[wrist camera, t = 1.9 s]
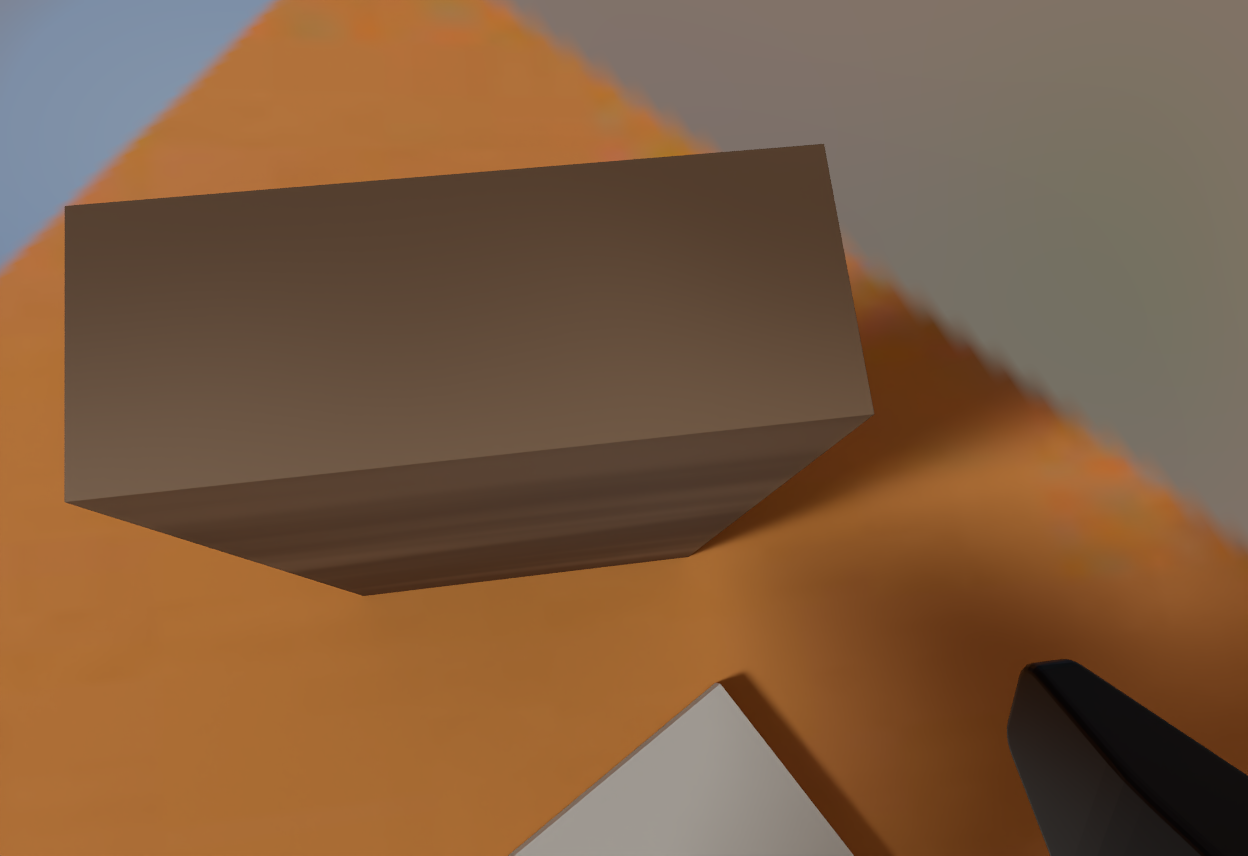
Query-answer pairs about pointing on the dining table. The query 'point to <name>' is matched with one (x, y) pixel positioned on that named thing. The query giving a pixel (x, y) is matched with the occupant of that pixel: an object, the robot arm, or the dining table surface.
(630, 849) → the grey mat
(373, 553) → the walnut block
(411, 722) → the dining table surface
